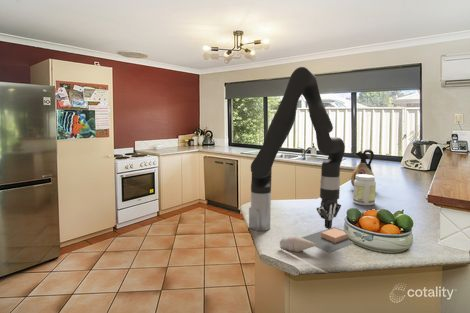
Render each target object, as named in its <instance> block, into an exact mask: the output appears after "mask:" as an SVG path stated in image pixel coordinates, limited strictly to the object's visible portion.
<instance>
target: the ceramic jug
mask: <svg viewBox="0 0 470 313" xmlns="http://www.w3.org/2000/svg"><path fill="white" fill-rule="evenodd" d="M367 153H368V154H370V158H369V156H368V155H367ZM374 155H375V154H374V151H373V150H371V149H365V150H363V152H362V151H361V150H360V151H358V152H356V154H354V156H355V157H357V158H360V162H359V164H358V165H357V166H356V167H355V169H354V170H353V171H352V174H351V178H350V182H351V185H352V186H353V187H354V180H355V179H356V175H358V174H366V175H372V176H374V177H375V175H374V172H373V169H372V166H371V164H372V162H373V160H374ZM368 159H369V161H368V162H367V160H368ZM375 179H376V178H375ZM375 179H374V181H375V182H376V180H375Z"/></svg>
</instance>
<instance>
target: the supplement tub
mask: <svg viewBox="0 0 470 313" xmlns="http://www.w3.org/2000/svg"><path fill="white" fill-rule="evenodd" d="M374 179H376V178H375V175H374V176H372V175H366V174H358V175H356V179H355V180H354V186H353V193H352V201H353V202H354V204H356V205H360V206H373V205H374V204H375V202H376V189H377V188H376V187H377V185H376V184H377V183H376V182H377V181H376V180H375V181H374Z"/></svg>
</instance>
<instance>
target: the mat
mask: <svg viewBox="0 0 470 313" xmlns="http://www.w3.org/2000/svg"><path fill="white" fill-rule="evenodd" d="M334 228H336V229H338V230H341V231H345V230H344V229H341V228H338V227H336V226H332V228H330V229H327V228H326V229H324V230H321V231H317V232H315V233H311V234H309V235H306V236H302V237H301V236H300V237H301V238H303V239H306V240H308V241H311V242H313V243H315V244H318V245H317V246H314V247H316V248H318V249H319V250H320V249H321V250H323V251H324V252H326V253H329V254H330V253H333V252H335V251H338V250H340V249H344V248H346V247H349V246H351V245H353V244H355V243H353V242H352V241H350V240H349V239H348V238H347V239H344V240H341V241H338V242H336V243H334V242H332V241H329V240H327V239H325V238H322V237H321V232H324V231H328V230H331V229H334Z"/></svg>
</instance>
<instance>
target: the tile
mask: <svg viewBox="0 0 470 313" xmlns="http://www.w3.org/2000/svg"><path fill="white" fill-rule="evenodd" d="M336 228H337V227H336ZM336 228H334V229H331V230H328V231H324V230H323V231H324V232H321V237H322V238H325V239H327V240H329V241H332V242H334V243H336V242H338V241H341V240H344V239H347V238H348V237H347V234H346V233H345V232H344V231H345V230H344V231H341V230H338V229H336Z"/></svg>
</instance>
